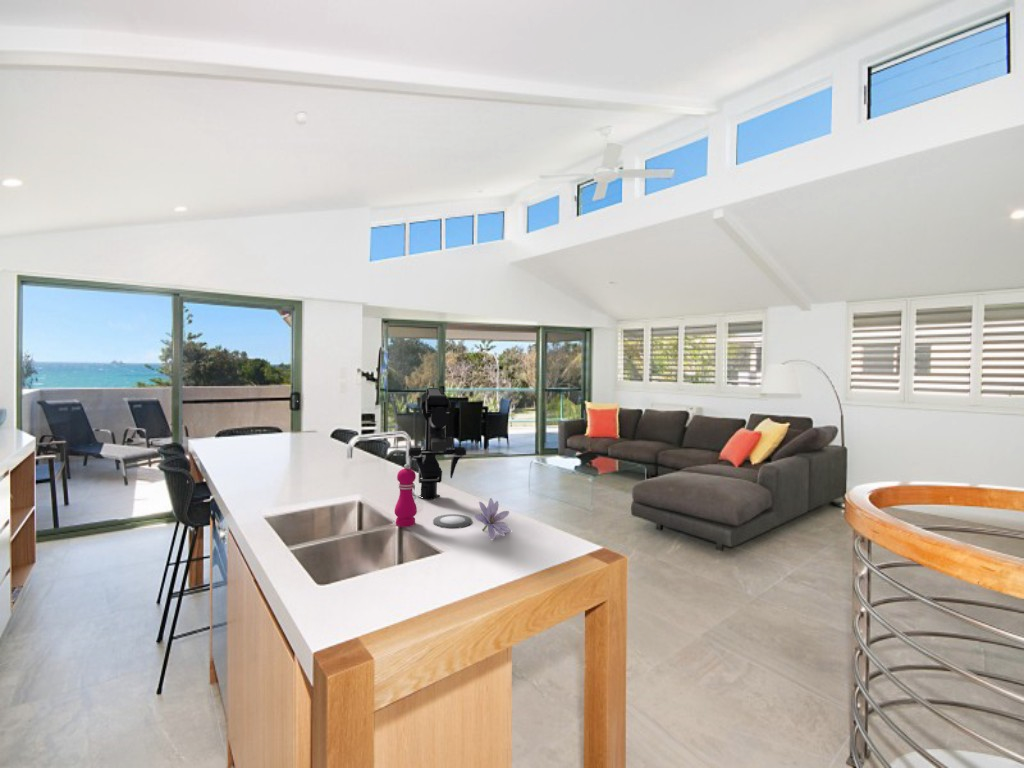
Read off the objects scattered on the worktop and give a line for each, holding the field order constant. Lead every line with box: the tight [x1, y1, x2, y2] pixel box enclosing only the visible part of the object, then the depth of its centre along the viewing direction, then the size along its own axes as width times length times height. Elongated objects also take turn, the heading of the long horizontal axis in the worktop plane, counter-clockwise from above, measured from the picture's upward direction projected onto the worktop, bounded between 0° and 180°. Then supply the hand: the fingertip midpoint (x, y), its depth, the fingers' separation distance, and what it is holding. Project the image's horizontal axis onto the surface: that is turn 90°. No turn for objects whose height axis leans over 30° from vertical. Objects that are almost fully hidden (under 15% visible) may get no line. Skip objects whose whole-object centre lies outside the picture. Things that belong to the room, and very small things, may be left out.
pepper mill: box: [394, 463, 418, 528], centre depth 165 cm, size 7×7×20 cm
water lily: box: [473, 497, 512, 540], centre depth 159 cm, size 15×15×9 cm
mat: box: [432, 513, 473, 529], centre depth 169 cm, size 13×13×1 cm
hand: (437, 478), depth 165 cm, fingers open, 9 cm apart
